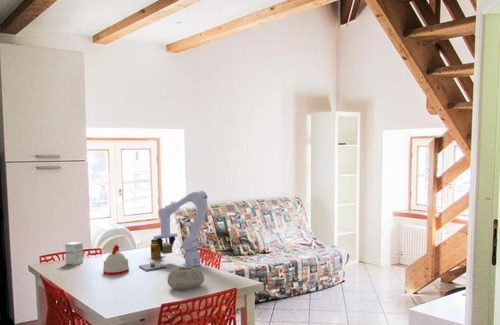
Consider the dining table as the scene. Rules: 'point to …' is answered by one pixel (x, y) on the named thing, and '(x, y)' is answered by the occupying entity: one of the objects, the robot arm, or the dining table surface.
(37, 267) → the dining table surface
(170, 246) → the taped cardboard box
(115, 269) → the kitchen timer
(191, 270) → the grey stone
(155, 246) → the condiment
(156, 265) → the hub plate
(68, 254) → the supplement box
